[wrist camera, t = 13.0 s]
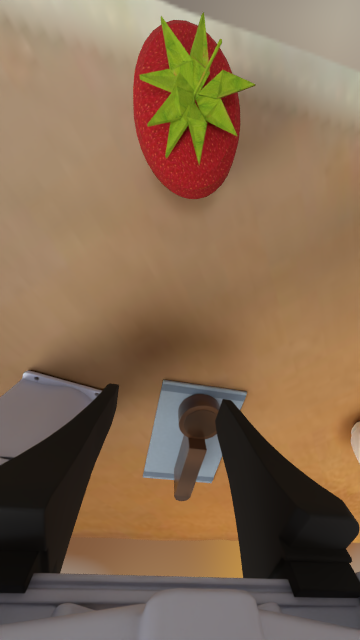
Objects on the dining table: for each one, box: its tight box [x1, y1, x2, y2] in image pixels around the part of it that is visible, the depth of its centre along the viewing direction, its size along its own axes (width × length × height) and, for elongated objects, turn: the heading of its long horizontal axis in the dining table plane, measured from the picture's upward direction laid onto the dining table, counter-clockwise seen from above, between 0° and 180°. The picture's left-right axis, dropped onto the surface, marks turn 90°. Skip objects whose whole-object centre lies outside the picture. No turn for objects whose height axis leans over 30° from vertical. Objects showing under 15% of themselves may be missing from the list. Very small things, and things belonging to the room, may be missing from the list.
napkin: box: [143, 380, 247, 483], centre depth 26 cm, size 11×18×1 cm, turn 168°
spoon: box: [174, 394, 220, 501], centre depth 25 cm, size 15×6×3 cm, turn 168°
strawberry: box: [133, 13, 256, 199], centre depth 11 cm, size 6×8×10 cm
